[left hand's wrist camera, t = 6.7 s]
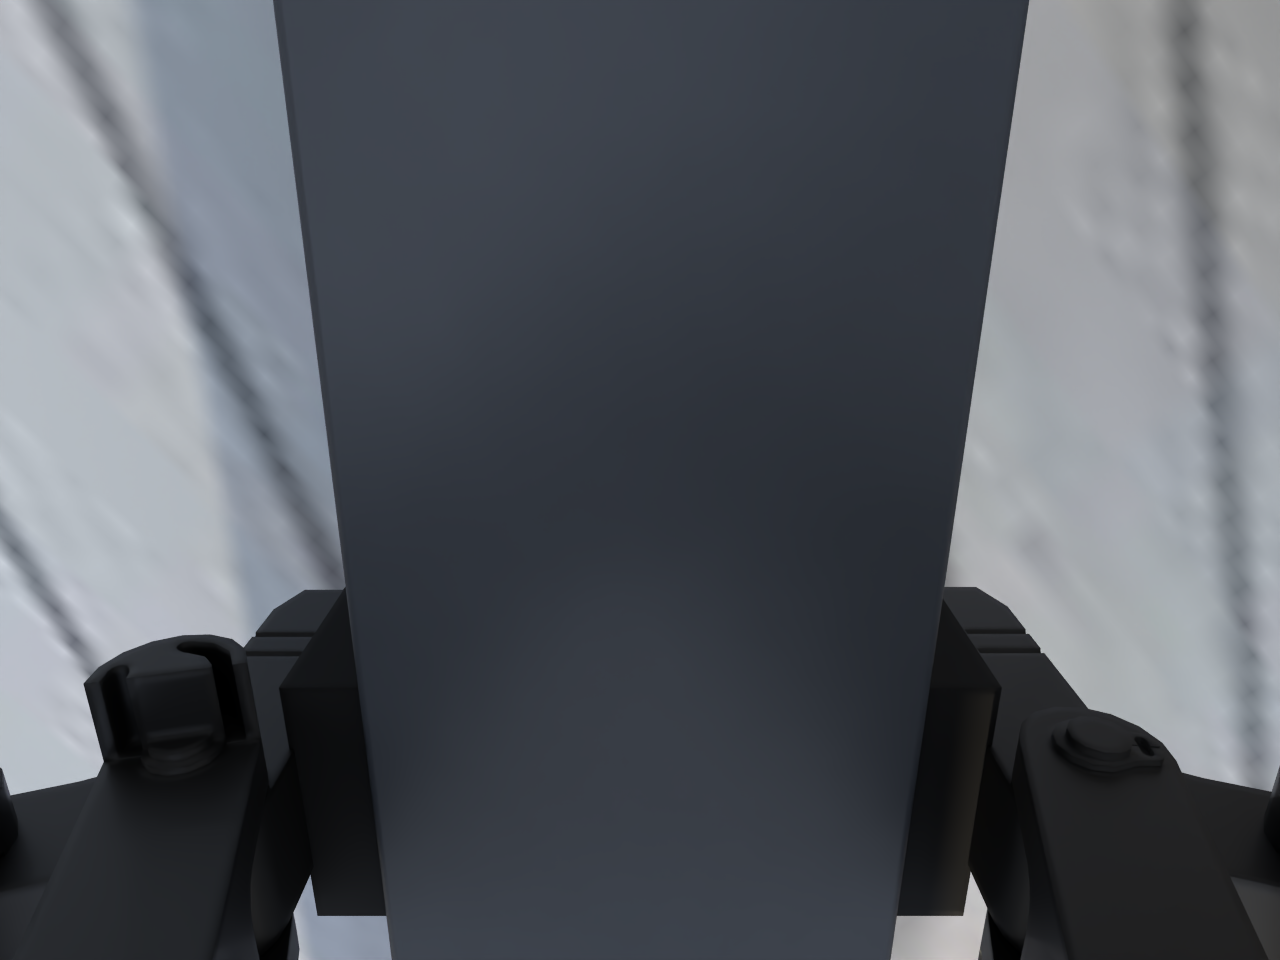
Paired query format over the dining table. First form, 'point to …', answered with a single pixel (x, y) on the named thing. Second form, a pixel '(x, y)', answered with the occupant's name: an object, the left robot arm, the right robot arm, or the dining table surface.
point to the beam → (646, 447)
